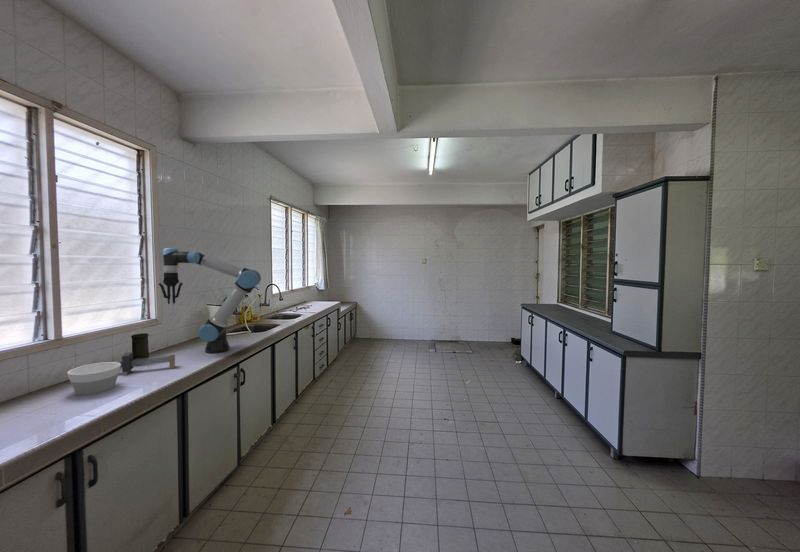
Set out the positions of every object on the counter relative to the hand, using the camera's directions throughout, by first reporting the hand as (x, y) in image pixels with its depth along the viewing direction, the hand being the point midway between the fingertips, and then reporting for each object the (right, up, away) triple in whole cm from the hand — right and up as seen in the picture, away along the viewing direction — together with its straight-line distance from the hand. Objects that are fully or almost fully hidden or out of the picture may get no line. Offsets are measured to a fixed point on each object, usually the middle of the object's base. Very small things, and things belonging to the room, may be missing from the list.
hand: (171, 308), depth 208 cm
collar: (-6, -32, -26) cm, 42 cm away
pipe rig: (0, -34, -23) cm, 41 cm away
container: (-12, -33, -10) cm, 36 cm away
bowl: (-3, -35, -49) cm, 61 cm away
